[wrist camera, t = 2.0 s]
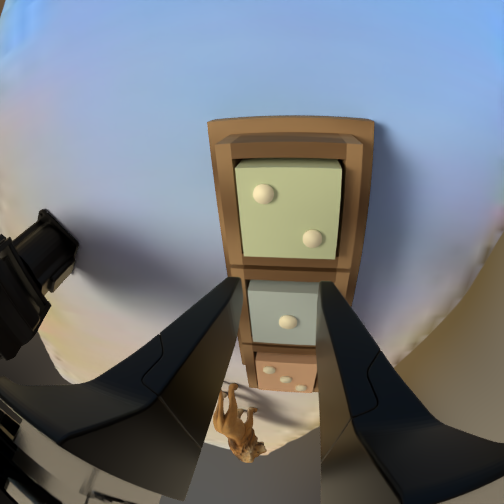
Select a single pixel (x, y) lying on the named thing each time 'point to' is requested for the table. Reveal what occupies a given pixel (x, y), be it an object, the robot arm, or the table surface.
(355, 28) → the table surface
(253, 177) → the button
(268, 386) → the three-pip button
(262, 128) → the button board
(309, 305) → the button
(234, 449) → the lion figurine
